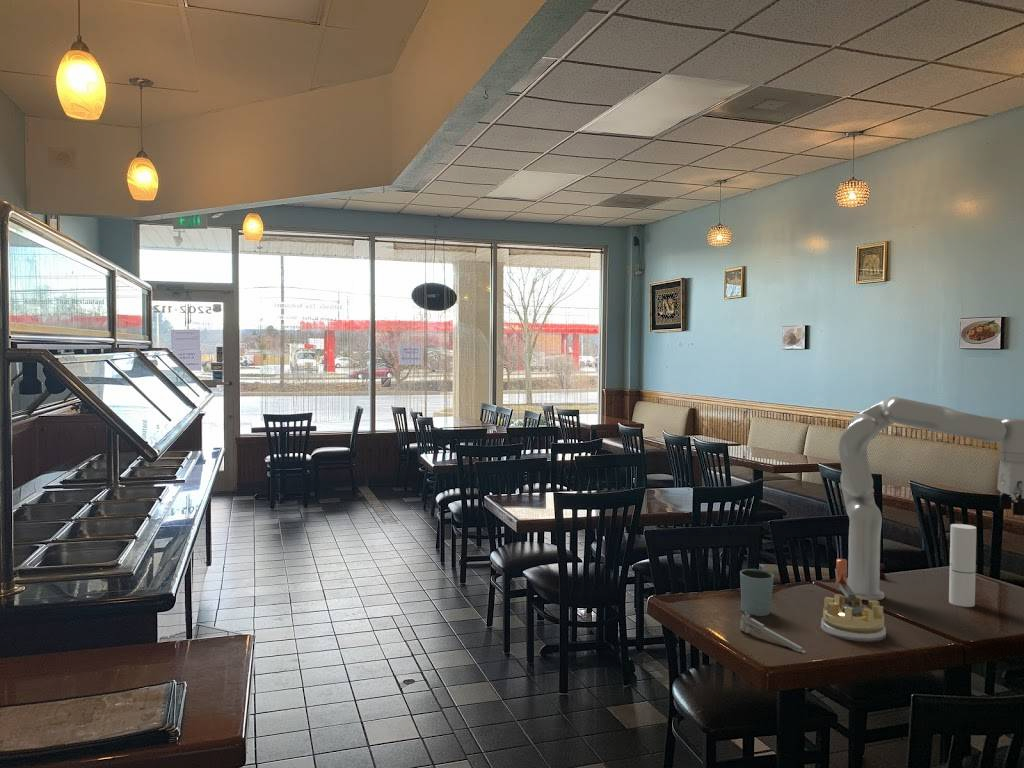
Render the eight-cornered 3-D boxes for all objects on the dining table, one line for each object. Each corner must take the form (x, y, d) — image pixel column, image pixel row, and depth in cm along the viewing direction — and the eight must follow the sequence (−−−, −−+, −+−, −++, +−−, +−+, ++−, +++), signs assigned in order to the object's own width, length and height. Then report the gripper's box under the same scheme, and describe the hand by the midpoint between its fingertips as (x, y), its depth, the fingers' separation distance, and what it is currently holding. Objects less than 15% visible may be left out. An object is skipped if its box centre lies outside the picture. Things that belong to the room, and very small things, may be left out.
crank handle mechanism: (797, 615, 222) (798, 567, 222) (839, 603, 234) (840, 558, 233) (862, 636, 205) (863, 585, 205) (904, 622, 216) (905, 574, 216)
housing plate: (808, 627, 219) (808, 620, 219) (843, 617, 228) (843, 610, 228) (863, 646, 204) (863, 638, 204) (898, 634, 214) (898, 627, 214)
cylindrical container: (967, 600, 245) (969, 524, 244) (979, 607, 238) (980, 529, 237) (944, 599, 245) (946, 523, 245) (955, 606, 238) (957, 528, 238)
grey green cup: (745, 604, 240) (746, 567, 239) (777, 610, 234) (778, 572, 233) (734, 612, 231) (735, 574, 231) (768, 619, 225) (768, 580, 225)
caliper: (739, 632, 215) (740, 610, 215) (742, 631, 216) (742, 610, 216) (804, 654, 199) (804, 631, 199) (806, 654, 199) (806, 630, 199)
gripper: (989, 454, 244) (987, 506, 245) (1011, 460, 227) (1010, 516, 228) (1015, 455, 243) (1013, 507, 243) (1039, 461, 226) (1038, 518, 226)
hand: (1012, 512), depth 236 cm, fingers open, 9 cm apart
